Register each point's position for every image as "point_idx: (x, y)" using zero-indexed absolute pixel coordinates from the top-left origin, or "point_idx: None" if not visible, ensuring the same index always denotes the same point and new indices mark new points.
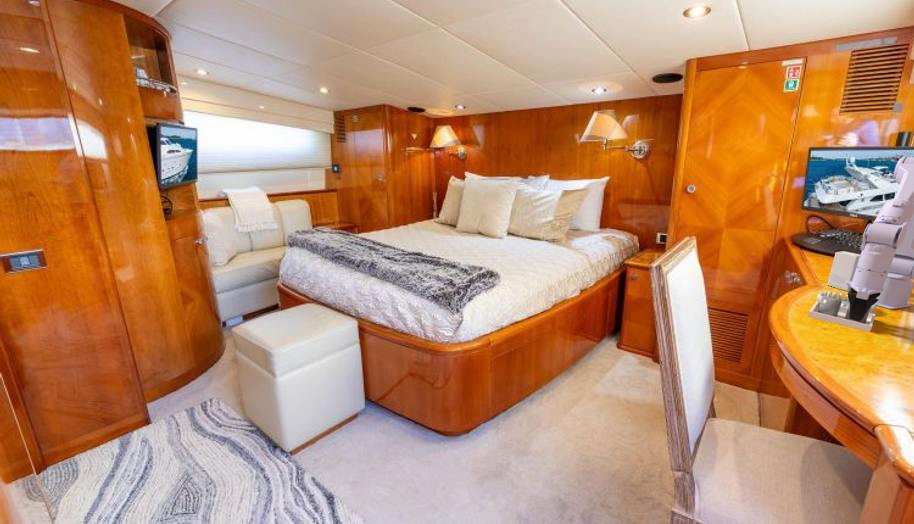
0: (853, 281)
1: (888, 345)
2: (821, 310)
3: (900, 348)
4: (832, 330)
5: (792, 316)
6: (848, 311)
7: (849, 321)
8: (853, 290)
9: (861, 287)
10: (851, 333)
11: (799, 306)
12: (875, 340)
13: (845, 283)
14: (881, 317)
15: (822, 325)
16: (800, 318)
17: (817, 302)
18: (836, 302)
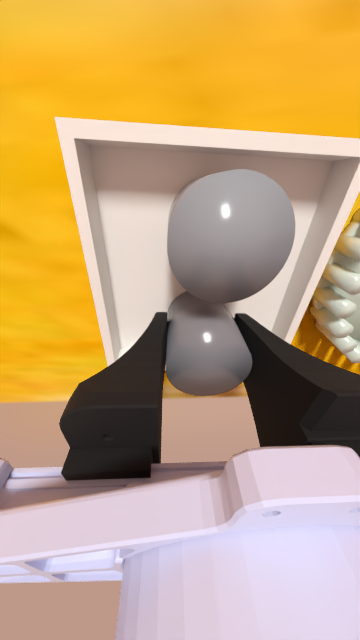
0: (215, 609)
1: (63, 379)
2: (179, 194)
3: (71, 394)
4: (20, 261)
5: (14, 11)
6: (185, 316)
7: (98, 317)
8: (313, 402)
9: (116, 553)
10: (64, 313)
11: (326, 33)
12: (71, 360)
13: (242, 472)
14: (331, 359)
15: (43, 220)
16: (34, 86)
17: (341, 149)
18: (178, 279)
